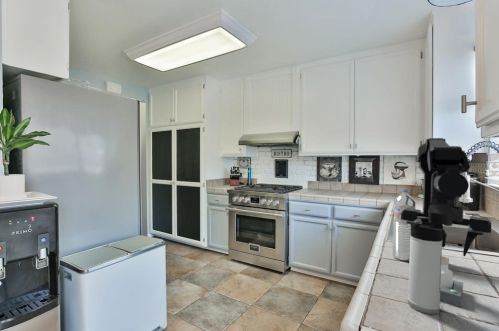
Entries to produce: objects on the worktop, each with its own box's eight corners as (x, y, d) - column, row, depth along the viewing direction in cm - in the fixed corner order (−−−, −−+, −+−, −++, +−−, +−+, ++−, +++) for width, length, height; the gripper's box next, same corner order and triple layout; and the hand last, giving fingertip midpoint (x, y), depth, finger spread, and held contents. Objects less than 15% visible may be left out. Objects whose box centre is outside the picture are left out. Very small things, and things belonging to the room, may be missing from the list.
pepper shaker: (427, 288, 70) (428, 254, 70) (439, 287, 71) (440, 253, 71) (441, 296, 66) (442, 260, 66) (453, 295, 67) (454, 259, 67)
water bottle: (416, 263, 88) (417, 191, 88) (393, 259, 91) (395, 189, 91) (412, 256, 95) (414, 189, 95) (391, 253, 97) (393, 188, 97)
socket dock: (422, 280, 75) (423, 271, 75) (462, 291, 69) (463, 281, 69) (416, 293, 68) (416, 282, 68) (460, 306, 61) (461, 294, 61)
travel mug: (400, 300, 64) (403, 220, 64) (425, 299, 64) (428, 220, 64) (418, 315, 58) (422, 227, 57) (446, 314, 58) (449, 227, 58)
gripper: (397, 191, 68) (395, 249, 69) (493, 200, 56) (490, 270, 56) (406, 189, 77) (404, 240, 77) (491, 196, 64) (489, 257, 64)
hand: (441, 251), depth 68 cm, fingers open, 9 cm apart
